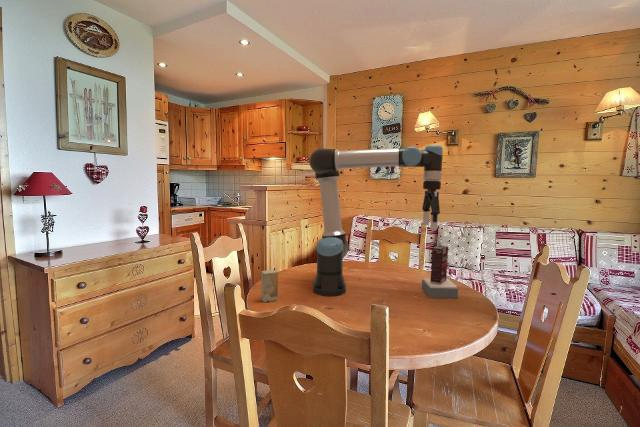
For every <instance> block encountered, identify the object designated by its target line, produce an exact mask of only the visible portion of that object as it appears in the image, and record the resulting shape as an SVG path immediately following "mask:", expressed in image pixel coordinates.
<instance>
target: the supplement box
mask: <svg viewBox="0 0 640 427" xmlns="http://www.w3.org/2000/svg"><path fill="white" fill-rule="evenodd" d="M431 250H432V251H431V265H430V279H431V280H430V283H433V284H438V285H441V284H442V283H443V282H445V281H446V279H448V276H447V275H448V274H447V273H448V257H449V246H448V245H447V246H446V245H440V244H439V245H436V246H434V247H432V249H431Z"/></svg>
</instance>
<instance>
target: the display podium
mask: <svg viewBox="0 0 640 427" xmlns="http://www.w3.org/2000/svg"><path fill="white" fill-rule="evenodd" d="M422 278H423V277H422ZM430 280H431V278H427V277H425V278H423V279H422V280H421V290H422V291H423V292H424V293H425V295H426V296H427V297H428V298H429V299H458V298H459V288H458V286H457V285H456V284H454V283H453V282H452V281H451V280H450V279H448V278H446V281H445V282H443V283H442V284H441V285H438V284H433V283H430Z"/></svg>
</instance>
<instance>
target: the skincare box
mask: <svg viewBox="0 0 640 427" xmlns="http://www.w3.org/2000/svg"><path fill="white" fill-rule="evenodd" d="M278 287H279V272H278V271H277V269H268V270H261V271H260V300H261V301H262V302H263V303H266V302H267V301H269V302H274V301H273V300H276V301H278V299H279V298H278V295H279V294H278V293H279V292H278V289H279V288H278ZM267 303H268V302H267Z"/></svg>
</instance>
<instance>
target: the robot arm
mask: <svg viewBox="0 0 640 427" xmlns="http://www.w3.org/2000/svg"><path fill="white" fill-rule="evenodd" d="M443 148H444V147H442V146H441V145H437V144H433V145H431V144H430V145H426V146H425V148H424V149H421V150H420V149H419V148H417V147H416V146H408V147H399V148H398V147H396V148H394V147H393V148H374V149H355V150H354V149H351V150H340V149H338V148H324V147H322V148H321V147H320V148H316V149H315V150H313V151H312V153H311V154H310V156H309V160H308V162H309V166H310V168H311V170H312V172H314V175H315V176H314V177H315V180H316V181H317V182H318V183H319V192H320V201H321V202H320V203H321V210H322V211H321V212H322V217H323V218H322V219H323V227H324V228H323V229H324V232H323V233H322V234H321V237H322V238H320V239H318V241H317V244H316V275H315V279H314V281H313V284H312V291H313V293H315V294H317V295H320V296H326V297H328V296H329V297H336V296H340V295H343V294H346V292H347V284H346V282H345V277H344V275H343V259H344V258H345V257H346V256H347V254H348V252H349V243H348V240H347V234H346V232H345V230H343V227H342V217H341V216H342V215H341V208H340V207H341V206H340V198H339V196H340V195H339V189H338V179H340V177H341V176H340V169H361V168H364V169H365V168H380V167H381V168H383V167H399V168H400V167H401V168H423V181H422V188H423V189H424V196H423V202H422V207H421V209H422V211H423V213H422V226H430V227H429V228H430V229H429V230H431V231H433V230H435V231H436V230H438V221H439V220H438V219H439V215H440V213H441V210H440V209H441V208H440V199H439V197H440V196H439V195H440V193H439V190H441V188H442V186H441V185H442V182H441V179H442V176H443V171H442V169H443V168H442V167H443V158H444V155H443V152H444V151H443ZM437 190H438V191H437ZM430 208H431V209H430Z"/></svg>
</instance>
